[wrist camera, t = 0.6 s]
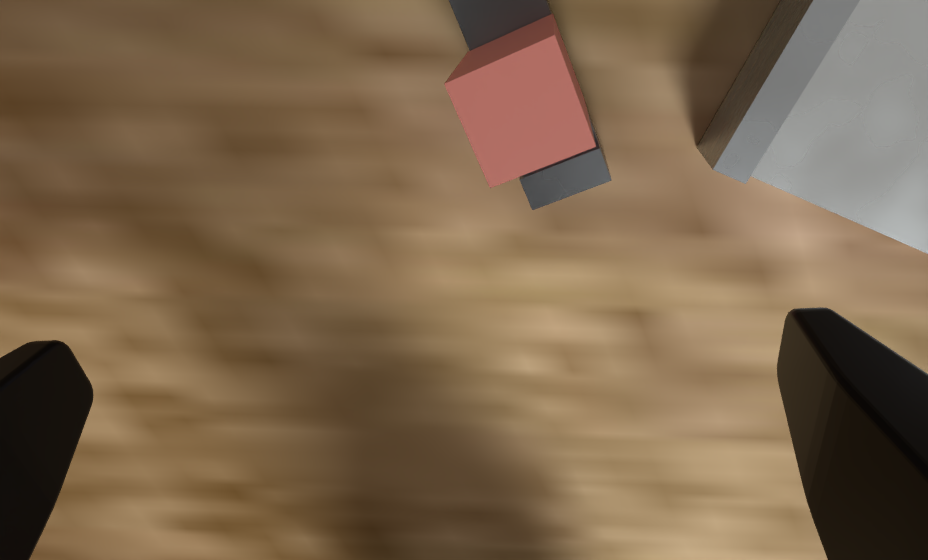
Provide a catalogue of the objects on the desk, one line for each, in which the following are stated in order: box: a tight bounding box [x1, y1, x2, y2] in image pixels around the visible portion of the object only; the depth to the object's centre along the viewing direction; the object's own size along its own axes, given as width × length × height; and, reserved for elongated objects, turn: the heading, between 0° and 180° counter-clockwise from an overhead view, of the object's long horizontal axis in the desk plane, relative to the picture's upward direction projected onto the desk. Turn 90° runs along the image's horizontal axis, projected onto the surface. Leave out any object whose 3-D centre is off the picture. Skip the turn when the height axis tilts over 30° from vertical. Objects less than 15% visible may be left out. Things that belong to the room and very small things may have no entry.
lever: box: [445, 14, 596, 188], centre depth 17 cm, size 2×2×5 cm
